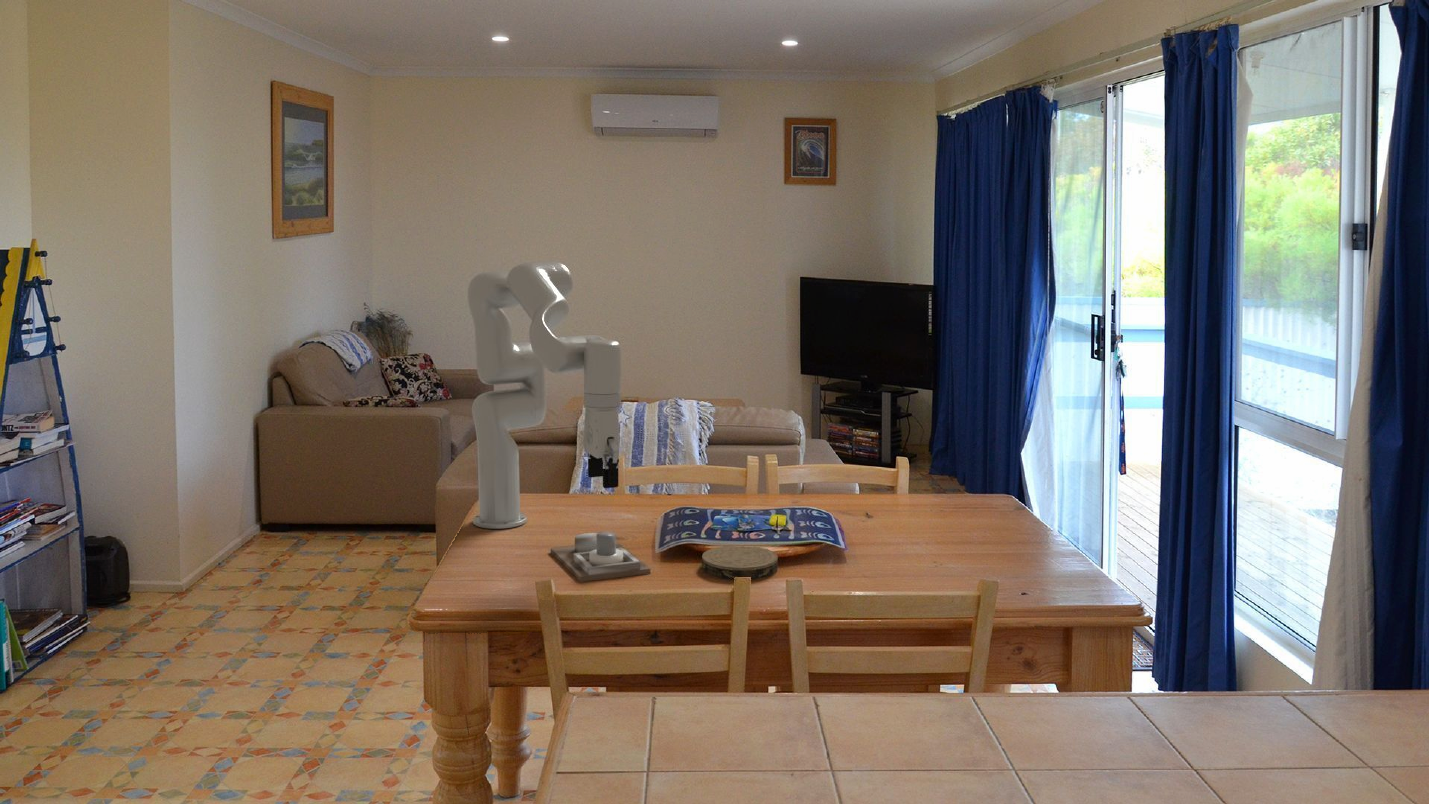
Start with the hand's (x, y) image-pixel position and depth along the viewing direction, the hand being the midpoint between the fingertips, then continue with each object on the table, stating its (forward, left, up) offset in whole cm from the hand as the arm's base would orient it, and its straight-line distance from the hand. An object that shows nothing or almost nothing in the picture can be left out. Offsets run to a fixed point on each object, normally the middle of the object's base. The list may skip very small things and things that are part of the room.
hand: (602, 481), depth 249 cm
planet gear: (+1, 0, -18) cm, 18 cm away
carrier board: (-4, 0, -19) cm, 19 cm away
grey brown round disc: (+11, +26, -19) cm, 34 cm away
